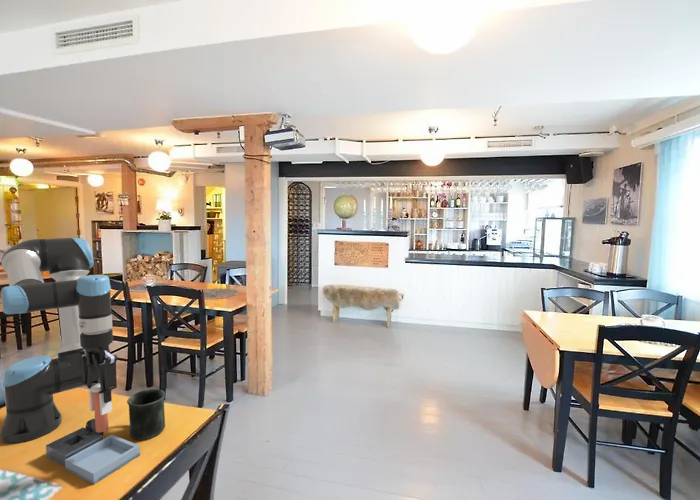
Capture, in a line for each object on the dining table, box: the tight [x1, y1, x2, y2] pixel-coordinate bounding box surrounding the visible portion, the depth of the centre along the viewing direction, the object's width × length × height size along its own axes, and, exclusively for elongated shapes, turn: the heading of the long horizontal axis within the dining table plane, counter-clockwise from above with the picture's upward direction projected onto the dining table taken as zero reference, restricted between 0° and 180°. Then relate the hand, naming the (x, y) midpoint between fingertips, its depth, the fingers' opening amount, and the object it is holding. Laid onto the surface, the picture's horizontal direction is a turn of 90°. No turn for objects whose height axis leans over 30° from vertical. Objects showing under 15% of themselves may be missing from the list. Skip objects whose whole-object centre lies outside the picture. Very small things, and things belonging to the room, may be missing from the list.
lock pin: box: [91, 383, 109, 433], centre depth 102 cm, size 4×4×13 cm
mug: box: [126, 388, 166, 441], centre depth 120 cm, size 11×15×12 cm
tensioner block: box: [45, 417, 105, 468], centre depth 109 cm, size 10×12×8 cm
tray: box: [64, 434, 141, 485], centre depth 104 cm, size 13×13×3 cm
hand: (101, 410), depth 103 cm, fingers closed on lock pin, 4 cm apart
